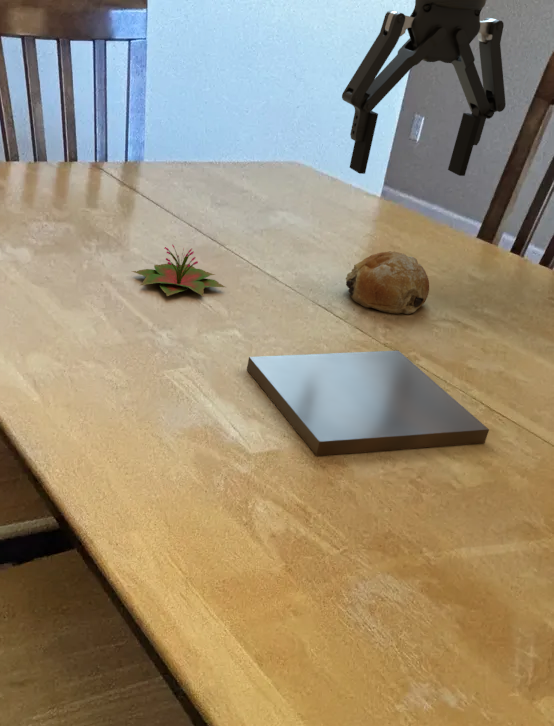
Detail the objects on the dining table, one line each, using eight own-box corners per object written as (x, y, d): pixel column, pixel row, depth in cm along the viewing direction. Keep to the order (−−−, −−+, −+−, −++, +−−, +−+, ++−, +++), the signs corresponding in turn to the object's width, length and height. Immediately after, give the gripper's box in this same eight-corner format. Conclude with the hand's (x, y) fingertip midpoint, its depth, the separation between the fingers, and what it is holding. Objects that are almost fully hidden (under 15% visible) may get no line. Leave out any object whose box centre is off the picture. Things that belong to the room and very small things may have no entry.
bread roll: (378, 343, 111) (417, 297, 105) (324, 288, 114) (360, 239, 108) (415, 325, 118) (454, 280, 112) (364, 272, 120) (399, 226, 114)
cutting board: (395, 362, 98) (398, 350, 97) (484, 443, 85) (489, 429, 84) (246, 369, 94) (248, 356, 93) (316, 456, 80) (319, 441, 79)
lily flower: (242, 295, 111) (247, 259, 109) (162, 307, 106) (166, 269, 103) (191, 264, 119) (195, 230, 117) (115, 273, 114) (117, 238, 111)
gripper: (536, -31, 99) (479, 165, 112) (338, -50, 93) (301, 161, 106) (578, -25, 94) (512, 182, 106) (370, -44, 87) (327, 178, 100)
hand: (407, 172), depth 106 cm, fingers open, 13 cm apart
